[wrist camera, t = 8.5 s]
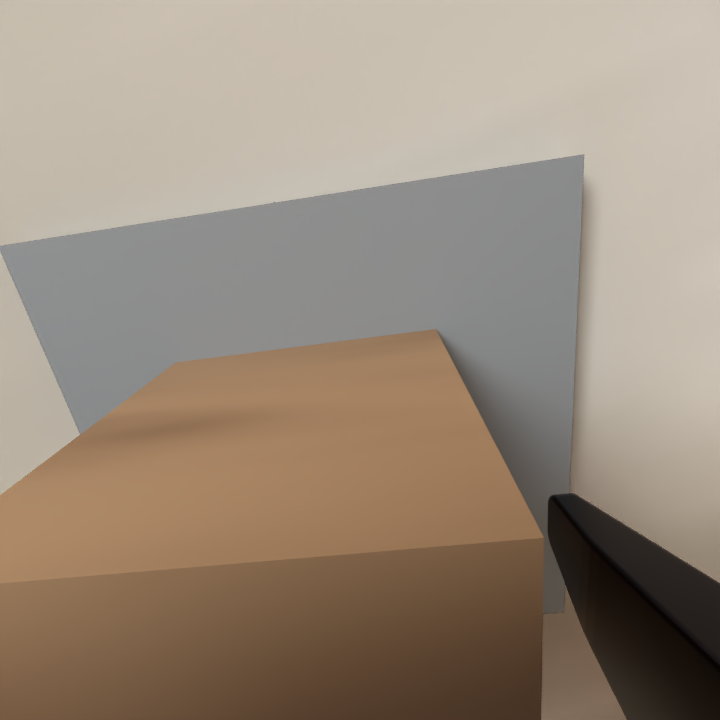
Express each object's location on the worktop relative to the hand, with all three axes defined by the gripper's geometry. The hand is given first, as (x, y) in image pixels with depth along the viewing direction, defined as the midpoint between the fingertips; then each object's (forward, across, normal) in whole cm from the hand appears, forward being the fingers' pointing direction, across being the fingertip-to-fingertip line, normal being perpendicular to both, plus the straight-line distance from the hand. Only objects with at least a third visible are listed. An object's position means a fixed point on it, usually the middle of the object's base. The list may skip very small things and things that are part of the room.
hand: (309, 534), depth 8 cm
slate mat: (+3, 0, 0) cm, 3 cm away
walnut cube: (+3, 0, 0) cm, 3 cm away
